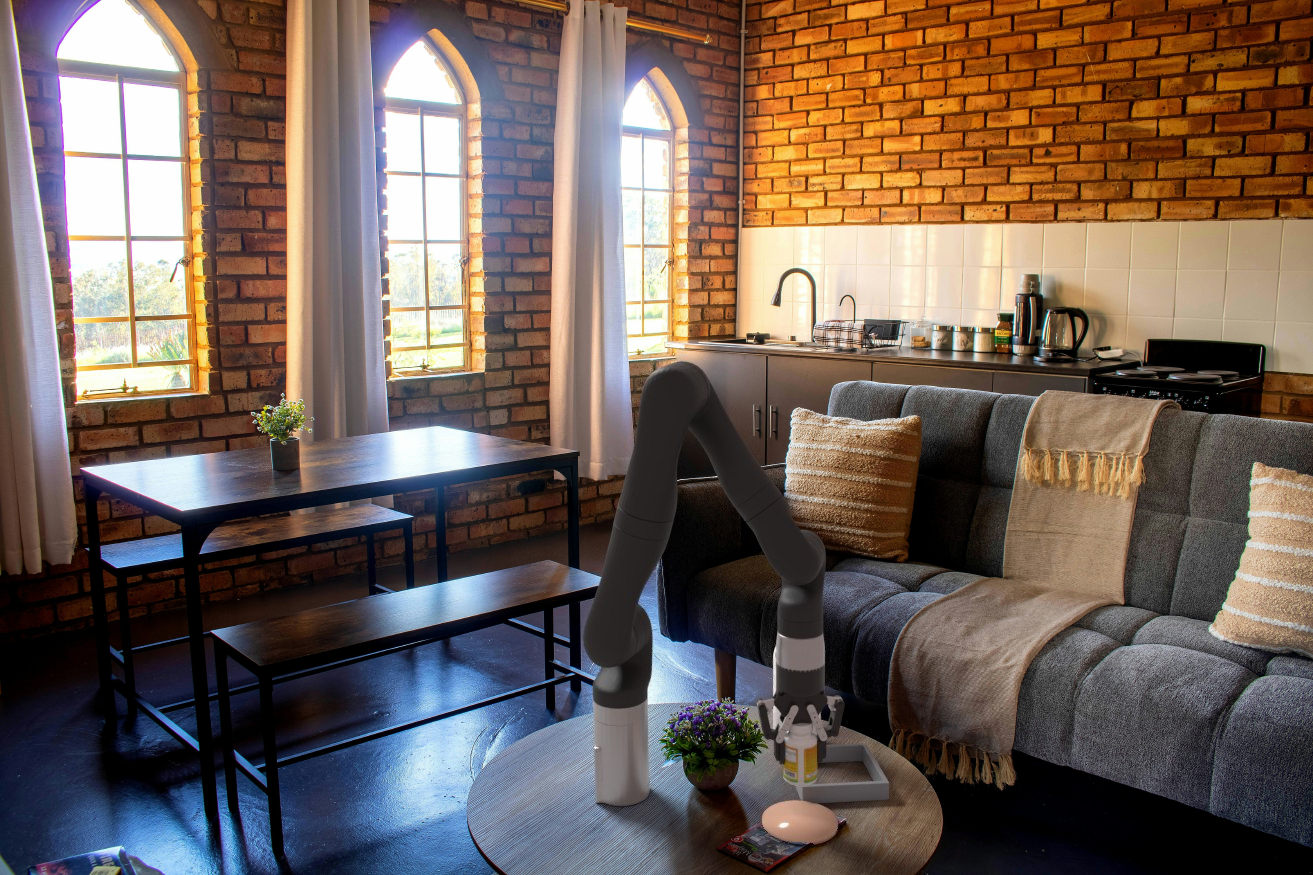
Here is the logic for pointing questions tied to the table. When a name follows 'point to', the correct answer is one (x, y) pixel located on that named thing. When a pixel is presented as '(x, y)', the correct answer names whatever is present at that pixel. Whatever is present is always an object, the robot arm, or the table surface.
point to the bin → (848, 790)
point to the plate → (800, 822)
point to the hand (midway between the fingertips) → (800, 760)
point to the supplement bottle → (800, 755)
